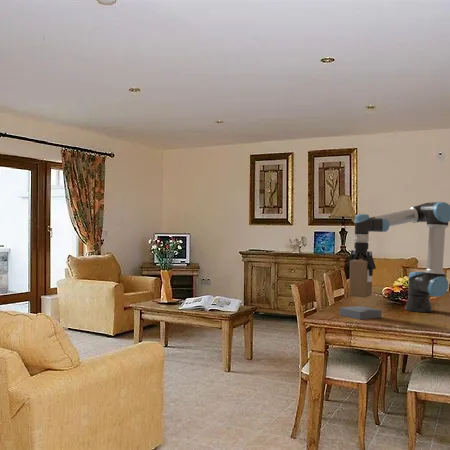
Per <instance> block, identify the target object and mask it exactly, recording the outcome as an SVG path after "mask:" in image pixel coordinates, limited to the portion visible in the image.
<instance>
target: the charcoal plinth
mask: <svg viewBox="0 0 450 450" xmlns="http://www.w3.org/2000/svg"><path fill="white" fill-rule="evenodd" d="M338 308H339V311H338V314H339V316H343V317H347V318H351V319H357V320H361V321H362V320H369V319H379V318H382V313H383V312H382V309H377V308H373V307H367V306H364V305H363V306H362V305H358V306H356V305H355V306H344V307H343V306H342V307H338Z"/></svg>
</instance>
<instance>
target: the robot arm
mask: <svg viewBox="0 0 450 450" xmlns="http://www.w3.org/2000/svg"><path fill="white" fill-rule="evenodd" d="M449 222H450V204H449V203H447V202H444V201H435V202H434V201H433V202H425V203H421V204H418V205H415V206H411V207H409V208H408V209H404V210H400V211H394V212H391V213H384V214H380V215H376V216H370V215H369V214H366V213H363V214H362V213H361V214H360V213H359V214H358V213H357V214H356V215H355V217H354V246H353V247H354V248H353V249H352V250H351V251H350V256H349V257H348V261H347V263H346V266H347V267H349V268H350V260H358V259H359V260H364V261H368V270H367V282H372V281H373V274H374V273H373V272H374V271H373V270H375V269H377V267H376V263H375V260H374V258H373V252H372V251H371V250H370V251H368V250H369V234H370V233H369V232H371V233H372V232H374V233H375V232H377V233H378V232H379V233H380V232H381V233H386V232H388V230H389V229H390V227H393V226H397V225H402V224H407V223H414V224H415V223H426V226H427V227H428V228H429V229H428V240H427V241H428V242H427V255H426V256H427V257H426V269H425V270H423V271H414V272H413V271H412V272H410V273H409V274H408V297H407V300H406V303H405V306H404V309H405V311H409V312H414V313H431V312H433V306H432V304H431V299H430V296H431V297H438V298H439V297H443V296H444V295H446V293H447V292H448V290H449V288H450V287H449V285H450V283H449V281H448V279H447V278H446V273H445V271H444V270H443V269H444V252H445V241H446V239H445V237H446V229H447V227H449ZM372 283H373V282H372Z"/></svg>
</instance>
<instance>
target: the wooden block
mask: <svg viewBox="0 0 450 450" xmlns="http://www.w3.org/2000/svg"><path fill="white" fill-rule="evenodd" d="M367 270H368V261H364V260H363V259H358V260H350V267H349V279H348V280H349V281H348V283H349V284H348V285H349V287H348V289H349V290H348V295H349V296H350V297H357V298H368V297H371V296H372V293H373V291H372V290H373V289H372V287H373V285H372V283H373V282H367Z"/></svg>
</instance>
